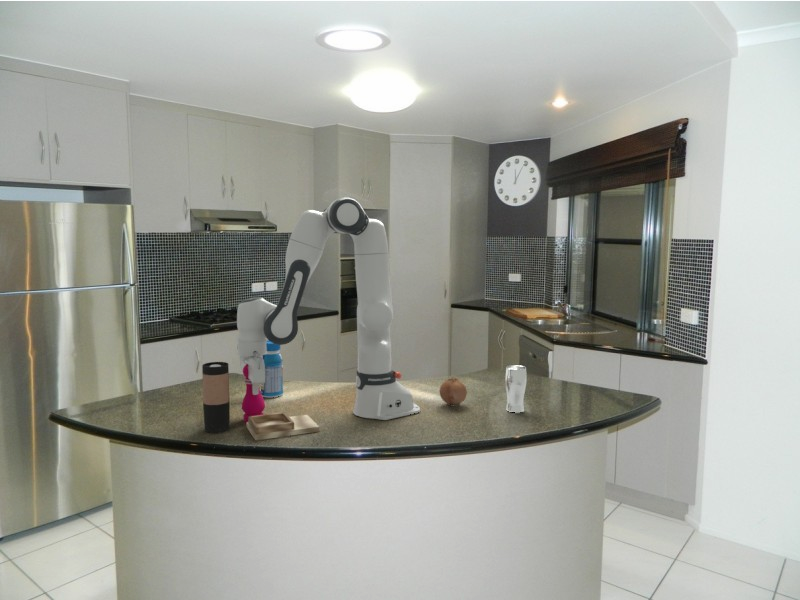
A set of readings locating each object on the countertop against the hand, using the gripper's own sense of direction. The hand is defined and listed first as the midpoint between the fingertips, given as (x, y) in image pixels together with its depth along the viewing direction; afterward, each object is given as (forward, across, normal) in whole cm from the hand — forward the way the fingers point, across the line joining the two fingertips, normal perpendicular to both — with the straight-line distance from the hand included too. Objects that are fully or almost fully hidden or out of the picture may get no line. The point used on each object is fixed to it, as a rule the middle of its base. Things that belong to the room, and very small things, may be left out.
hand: (253, 391), depth 185 cm
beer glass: (+9, -27, -82) cm, 87 cm away
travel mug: (+9, -5, +12) cm, 16 cm away
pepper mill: (+9, 0, 0) cm, 9 cm away
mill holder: (+9, -13, -6) cm, 17 cm away
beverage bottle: (+9, +26, -12) cm, 30 cm away
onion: (+9, -13, -66) cm, 68 cm away
